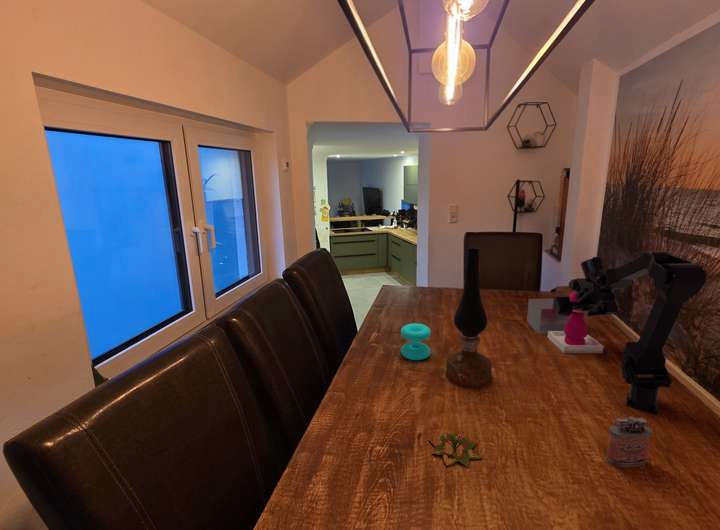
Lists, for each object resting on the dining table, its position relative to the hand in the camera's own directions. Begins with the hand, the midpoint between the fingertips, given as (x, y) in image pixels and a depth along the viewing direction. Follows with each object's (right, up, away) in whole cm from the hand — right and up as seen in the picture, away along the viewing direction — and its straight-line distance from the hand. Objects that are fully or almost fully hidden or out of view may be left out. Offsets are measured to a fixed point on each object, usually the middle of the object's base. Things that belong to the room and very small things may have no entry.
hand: (574, 315), depth 129 cm
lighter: (-19, -24, -52) cm, 60 cm away
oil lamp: (-42, -16, -17) cm, 48 cm away
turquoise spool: (-56, -14, -2) cm, 58 cm away
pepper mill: (0, -10, 0) cm, 10 cm away
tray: (0, -11, +1) cm, 11 cm away
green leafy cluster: (-54, -24, -47) cm, 76 cm away
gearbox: (+1, -7, +16) cm, 18 cm away
